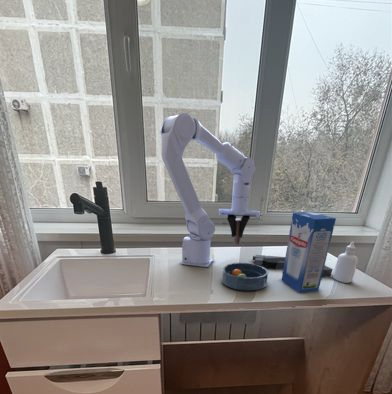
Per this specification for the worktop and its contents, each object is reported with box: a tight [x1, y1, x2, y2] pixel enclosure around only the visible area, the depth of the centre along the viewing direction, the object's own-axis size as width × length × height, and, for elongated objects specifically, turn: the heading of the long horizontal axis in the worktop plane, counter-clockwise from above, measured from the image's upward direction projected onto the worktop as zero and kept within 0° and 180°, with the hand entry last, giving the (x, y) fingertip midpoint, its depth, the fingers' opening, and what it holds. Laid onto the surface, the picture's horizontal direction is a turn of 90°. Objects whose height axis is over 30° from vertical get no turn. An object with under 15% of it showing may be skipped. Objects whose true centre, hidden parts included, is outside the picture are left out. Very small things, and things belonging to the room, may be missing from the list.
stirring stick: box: [233, 217, 242, 246], centre depth 105 cm, size 2×2×9 cm
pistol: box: [252, 254, 333, 277], centre depth 98 cm, size 2×26×15 cm
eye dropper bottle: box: [332, 241, 359, 284], centre depth 87 cm, size 4×6×12 cm
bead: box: [232, 269, 242, 276], centre depth 87 cm, size 3×3×3 cm
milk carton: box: [281, 211, 337, 294], centre depth 81 cm, size 10×6×20 cm, turn 16°
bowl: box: [221, 262, 269, 292], centre depth 85 cm, size 13×13×4 cm
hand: (237, 236), depth 105 cm, fingers closed on stirring stick, 2 cm apart
